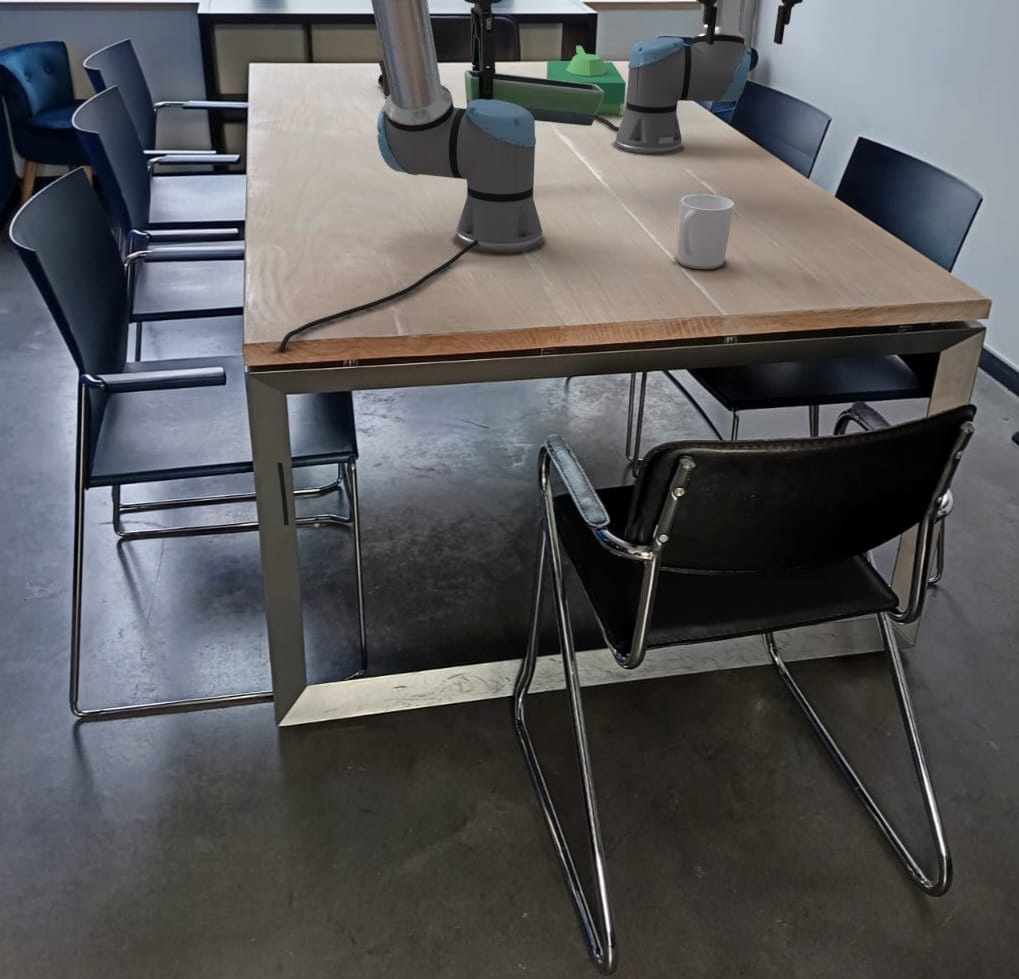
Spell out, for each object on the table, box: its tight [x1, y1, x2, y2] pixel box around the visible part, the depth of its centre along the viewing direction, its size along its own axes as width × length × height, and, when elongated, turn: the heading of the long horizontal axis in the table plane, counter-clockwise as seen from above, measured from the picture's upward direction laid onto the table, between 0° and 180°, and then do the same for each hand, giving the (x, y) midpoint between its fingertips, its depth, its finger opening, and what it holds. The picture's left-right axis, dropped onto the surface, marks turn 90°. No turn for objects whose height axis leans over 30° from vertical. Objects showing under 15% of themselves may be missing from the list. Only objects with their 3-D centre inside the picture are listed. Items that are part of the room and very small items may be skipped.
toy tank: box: [546, 45, 627, 116], centre depth 289 cm, size 18×12×35 cm
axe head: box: [377, 60, 390, 98], centre depth 299 cm, size 18×8×15 cm
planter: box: [464, 69, 605, 127], centre depth 218 cm, size 28×7×7 cm, turn 101°
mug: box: [676, 193, 735, 270], centre depth 185 cm, size 11×9×10 cm
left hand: (482, 105), depth 217 cm, fingers closed on planter, 7 cm apart
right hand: (743, 43), depth 209 cm, fingers open, 13 cm apart
